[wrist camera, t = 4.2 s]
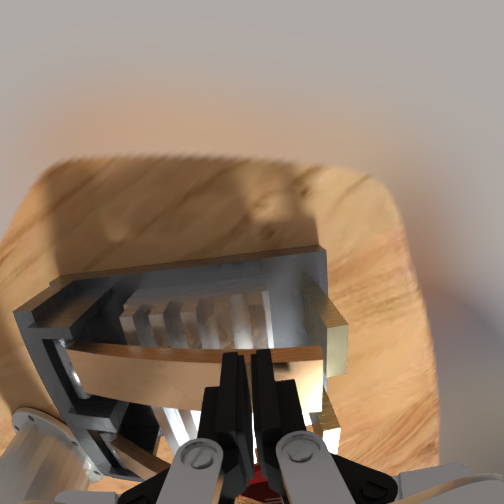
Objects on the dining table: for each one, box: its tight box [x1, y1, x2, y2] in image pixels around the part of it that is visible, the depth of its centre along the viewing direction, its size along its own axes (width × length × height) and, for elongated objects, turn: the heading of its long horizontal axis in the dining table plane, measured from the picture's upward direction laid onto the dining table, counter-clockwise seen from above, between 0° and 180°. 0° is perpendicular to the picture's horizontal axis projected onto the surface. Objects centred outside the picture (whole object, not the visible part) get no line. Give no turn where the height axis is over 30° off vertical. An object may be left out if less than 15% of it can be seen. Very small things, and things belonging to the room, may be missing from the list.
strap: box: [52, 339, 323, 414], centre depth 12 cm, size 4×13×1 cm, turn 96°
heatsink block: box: [13, 245, 349, 482], centre depth 16 cm, size 14×18×7 cm
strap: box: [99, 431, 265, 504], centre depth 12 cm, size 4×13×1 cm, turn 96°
